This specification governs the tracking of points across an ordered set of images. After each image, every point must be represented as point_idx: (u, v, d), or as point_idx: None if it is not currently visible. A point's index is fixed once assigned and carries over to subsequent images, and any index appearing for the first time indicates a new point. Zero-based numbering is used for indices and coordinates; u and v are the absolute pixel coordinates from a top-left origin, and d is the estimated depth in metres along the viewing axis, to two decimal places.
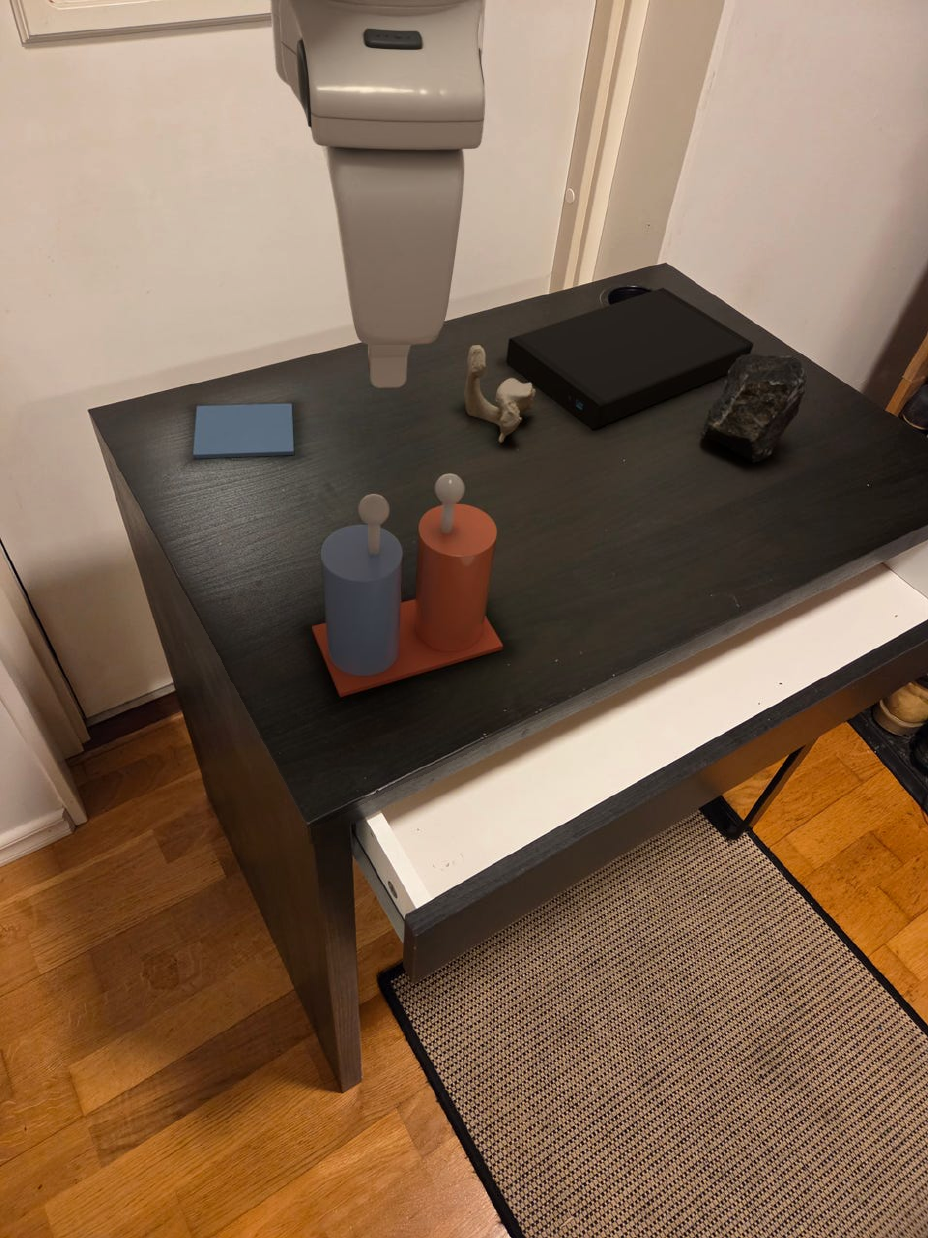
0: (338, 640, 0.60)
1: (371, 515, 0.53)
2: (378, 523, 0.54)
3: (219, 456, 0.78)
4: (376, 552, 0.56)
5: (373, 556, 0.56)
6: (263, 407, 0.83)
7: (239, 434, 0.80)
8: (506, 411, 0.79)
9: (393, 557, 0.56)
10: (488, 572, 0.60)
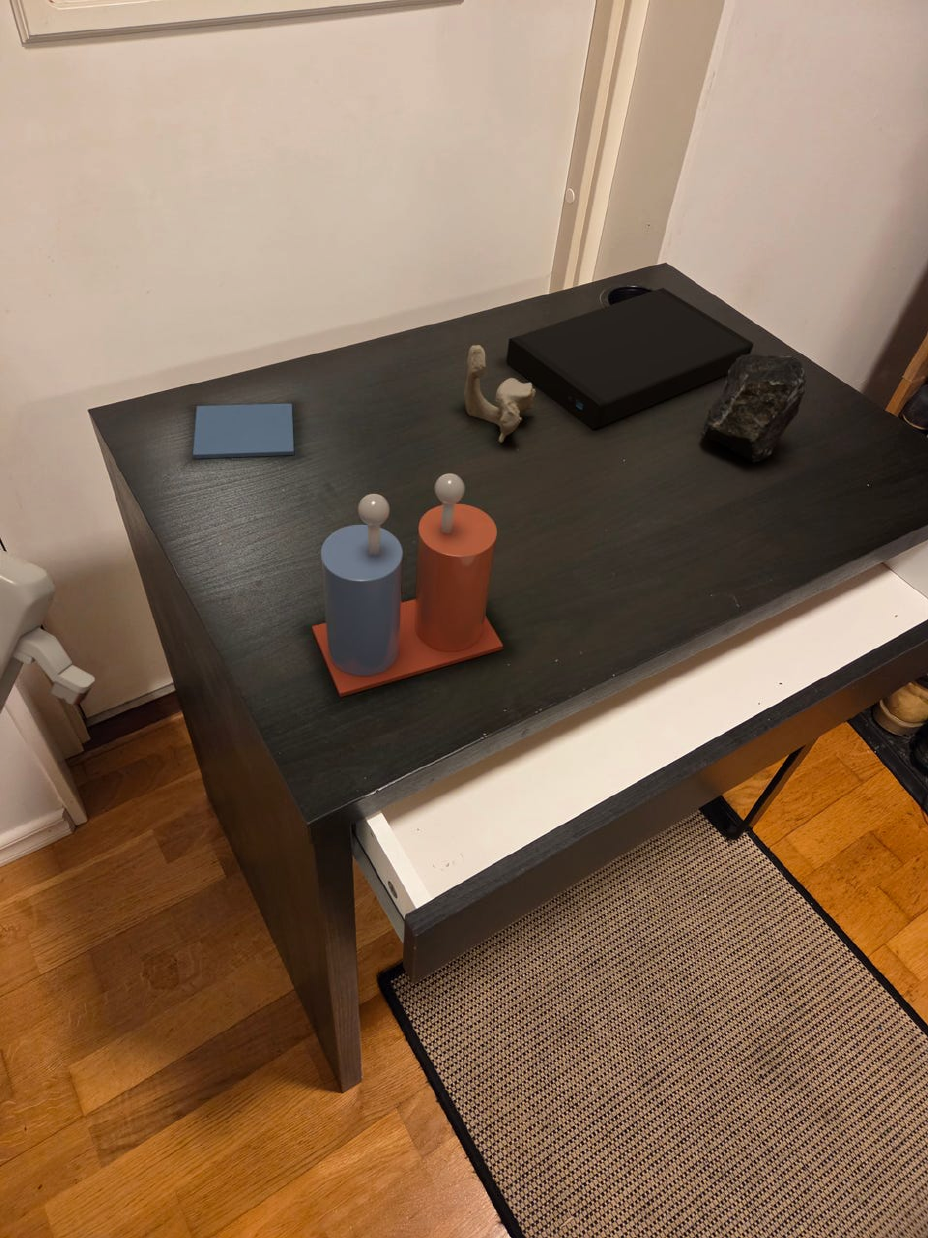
0: (338, 640, 0.60)
1: (371, 515, 0.53)
2: (378, 523, 0.54)
3: (219, 456, 0.78)
4: (376, 552, 0.56)
5: (373, 556, 0.56)
6: (263, 407, 0.83)
7: (239, 434, 0.80)
8: (506, 411, 0.79)
9: (393, 557, 0.56)
10: (488, 572, 0.60)
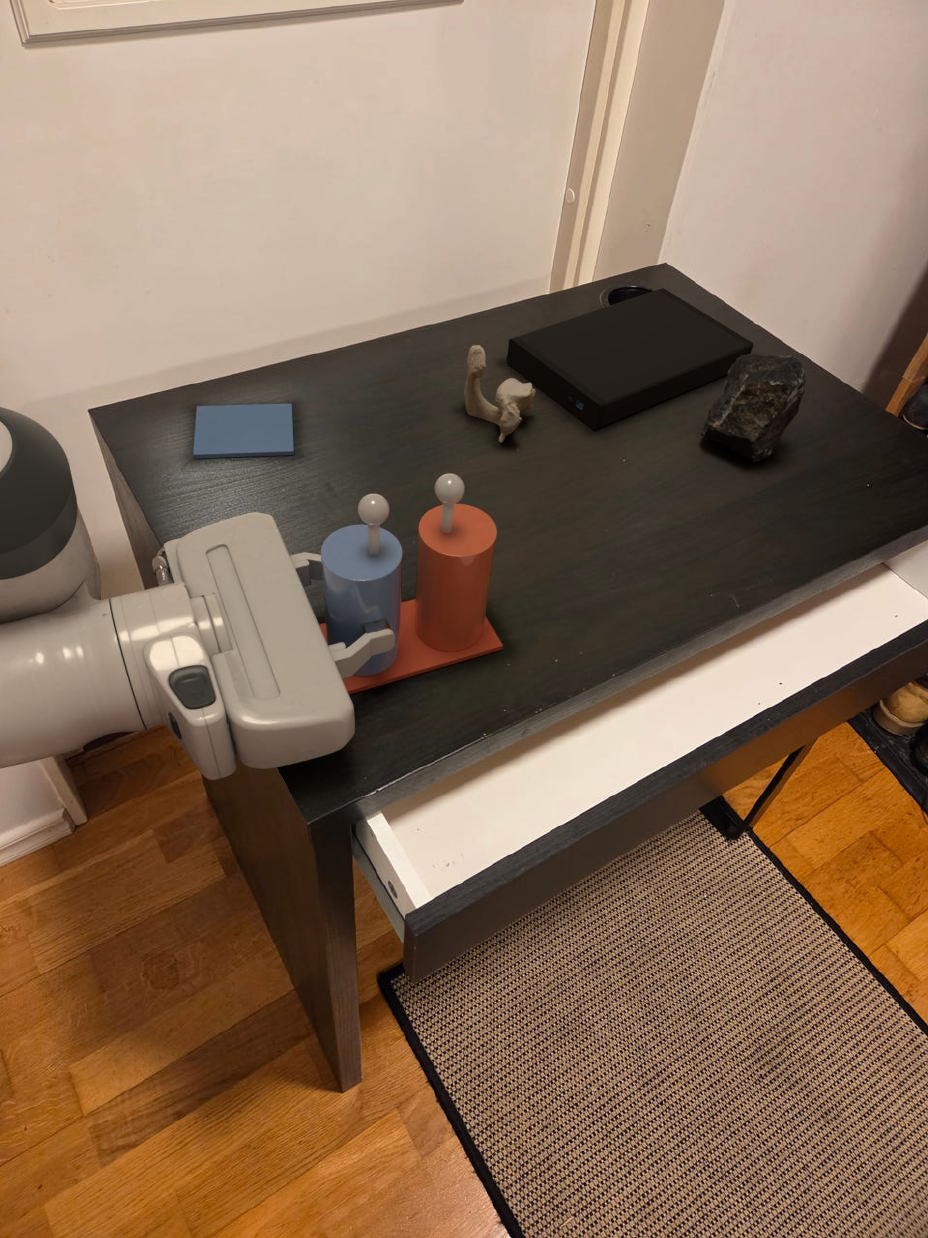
0: (337, 639, 0.60)
1: (371, 515, 0.53)
2: (378, 523, 0.54)
3: (219, 456, 0.78)
4: (376, 552, 0.56)
5: (373, 555, 0.56)
6: (263, 407, 0.83)
7: (239, 434, 0.80)
8: (506, 411, 0.79)
9: (393, 557, 0.56)
10: (488, 572, 0.60)
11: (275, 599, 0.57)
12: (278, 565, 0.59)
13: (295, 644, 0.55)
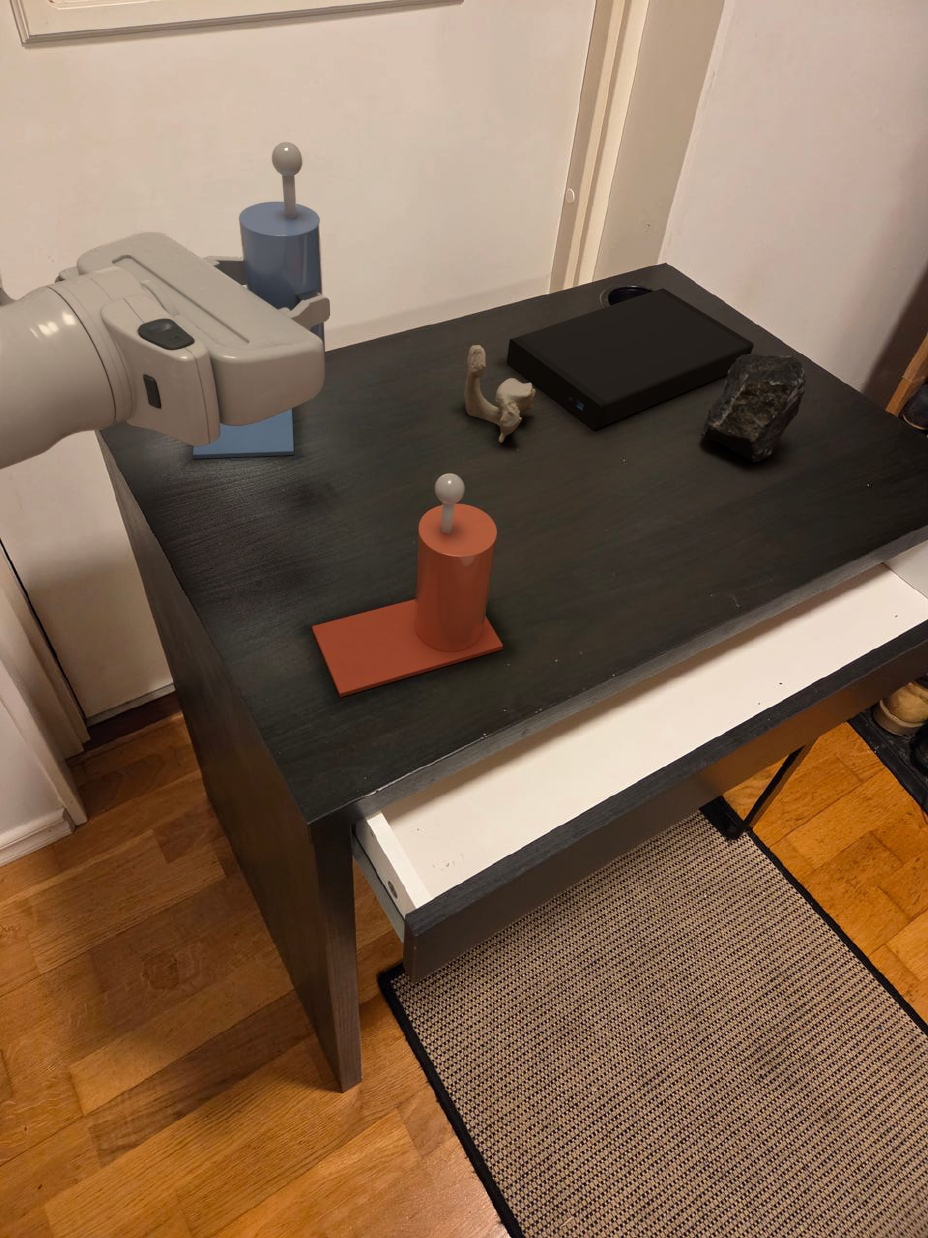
0: None
1: (289, 159, 0.54)
2: (296, 170, 0.55)
3: (219, 456, 0.78)
4: (294, 214, 0.58)
5: (292, 219, 0.58)
6: None
7: (239, 434, 0.80)
8: (506, 411, 0.79)
9: (311, 218, 0.58)
10: (488, 572, 0.60)
11: (204, 283, 0.57)
12: (192, 261, 0.59)
13: (242, 308, 0.55)
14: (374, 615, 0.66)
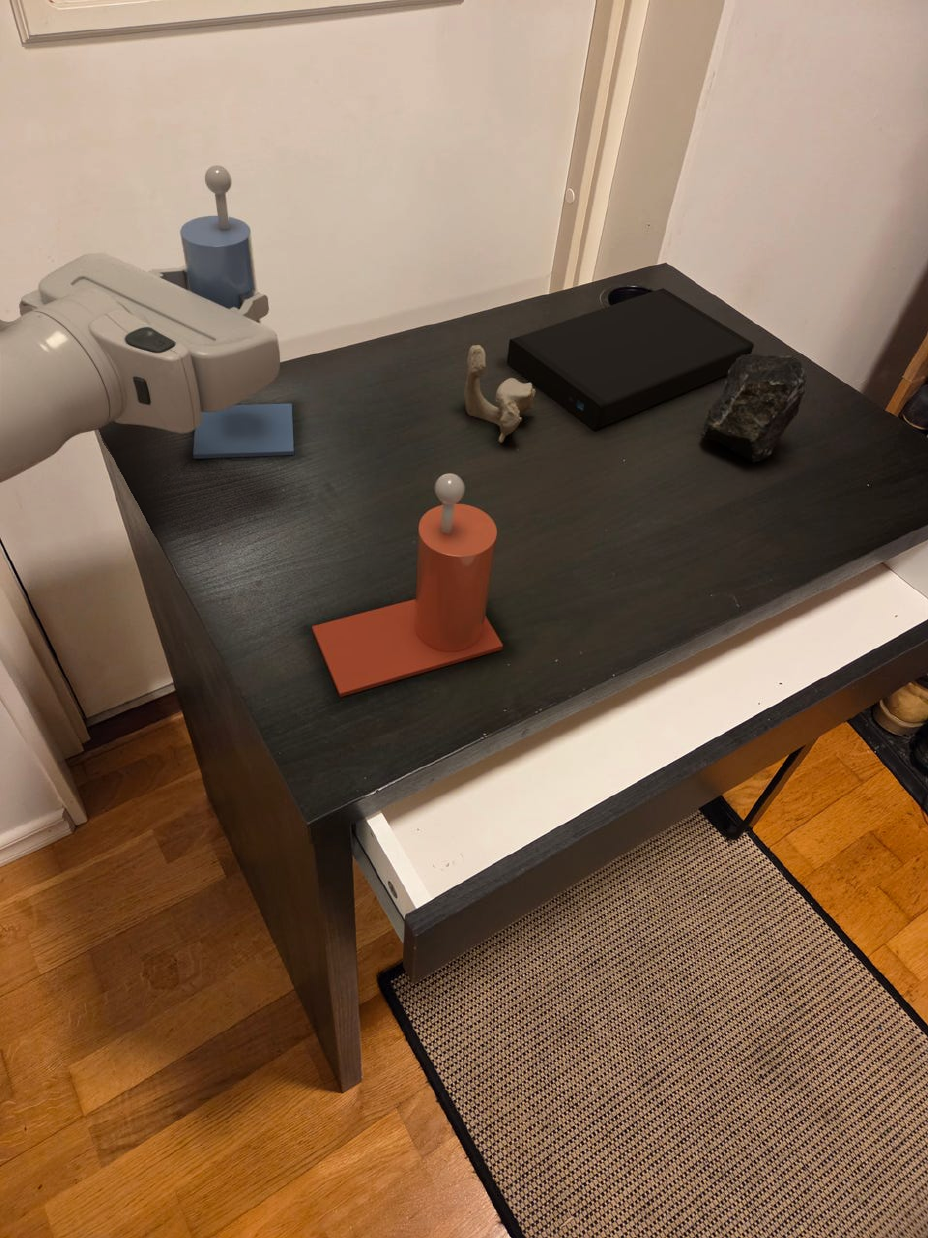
0: None
1: (221, 180, 0.64)
2: (227, 188, 0.65)
3: (219, 456, 0.78)
4: (228, 226, 0.67)
5: (227, 230, 0.67)
6: (263, 407, 0.83)
7: (239, 434, 0.80)
8: (506, 411, 0.79)
9: (243, 227, 0.67)
10: (488, 572, 0.60)
11: (159, 293, 0.66)
12: (142, 276, 0.67)
13: (200, 311, 0.65)
14: (374, 615, 0.66)
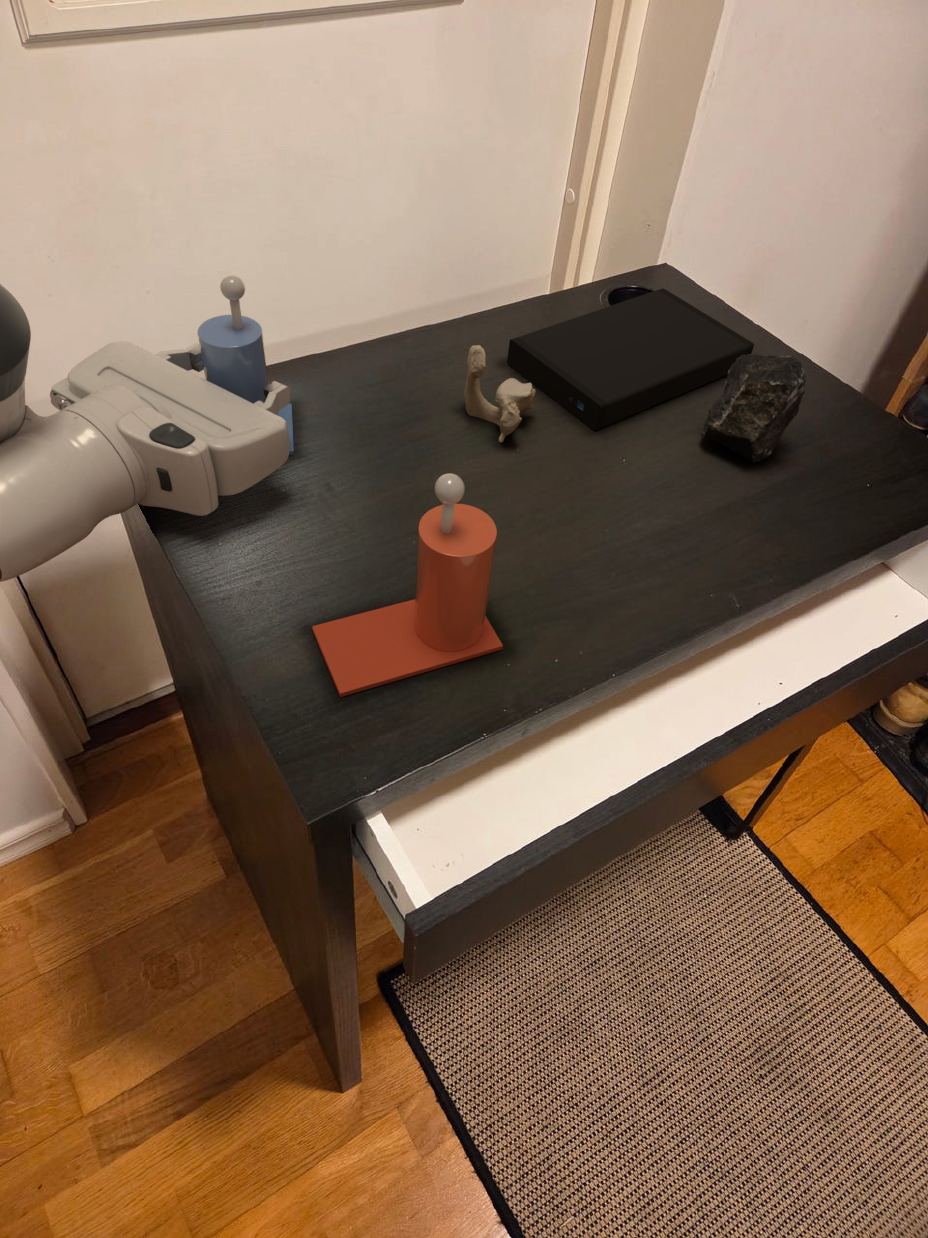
0: None
1: (235, 289, 0.70)
2: (241, 295, 0.71)
3: None
4: (241, 326, 0.73)
5: (240, 330, 0.73)
6: None
7: None
8: (506, 411, 0.79)
9: (255, 327, 0.74)
10: (488, 572, 0.60)
11: (178, 383, 0.72)
12: (162, 365, 0.73)
13: (216, 401, 0.70)
14: (374, 615, 0.66)
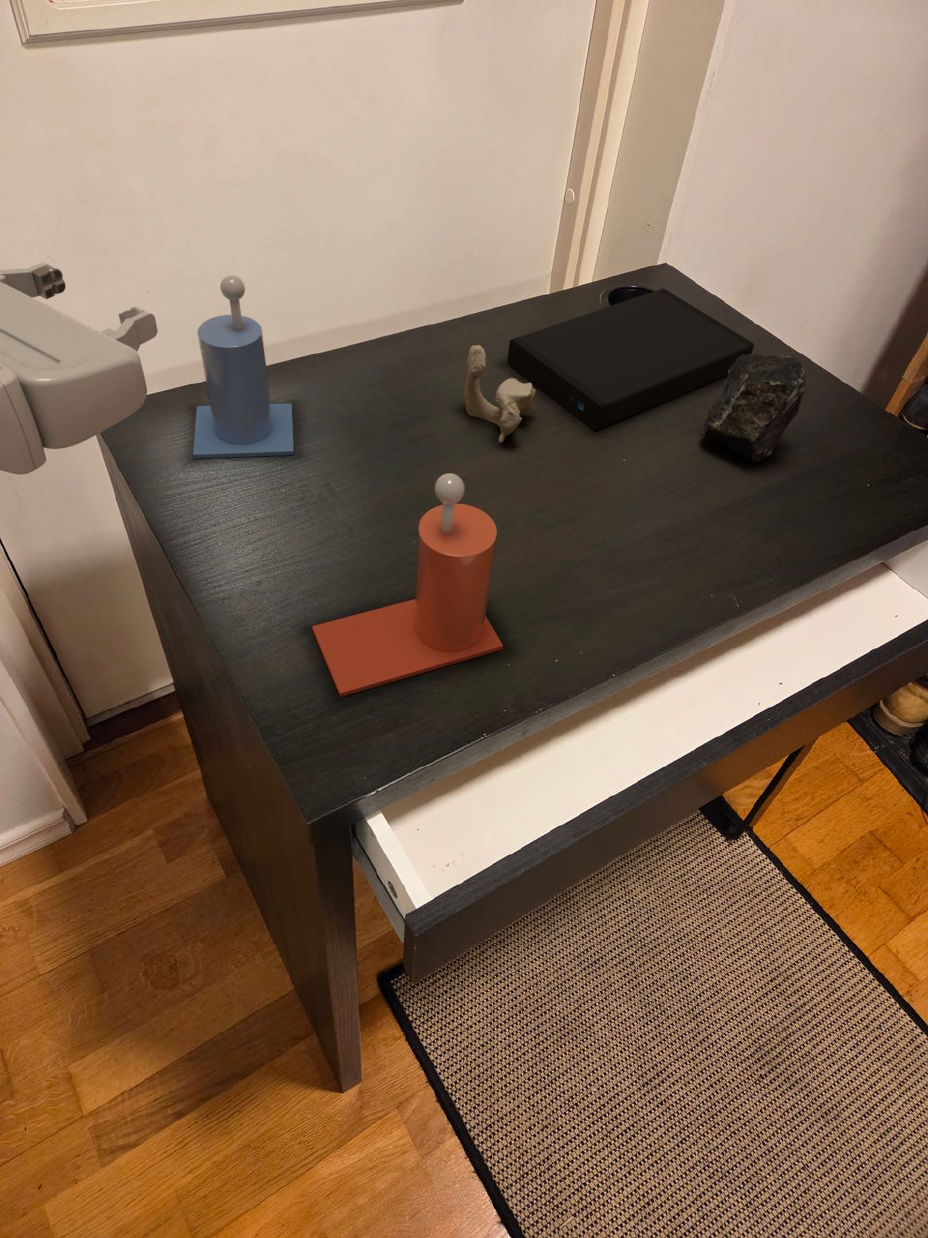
0: (232, 413, 0.76)
1: (235, 289, 0.70)
2: (241, 295, 0.71)
3: (219, 456, 0.78)
4: (241, 326, 0.73)
5: (240, 330, 0.73)
6: None
7: None
8: (506, 411, 0.79)
9: (255, 327, 0.74)
10: (488, 572, 0.60)
11: (3, 306, 0.55)
12: None
13: (48, 327, 0.54)
14: (374, 615, 0.66)
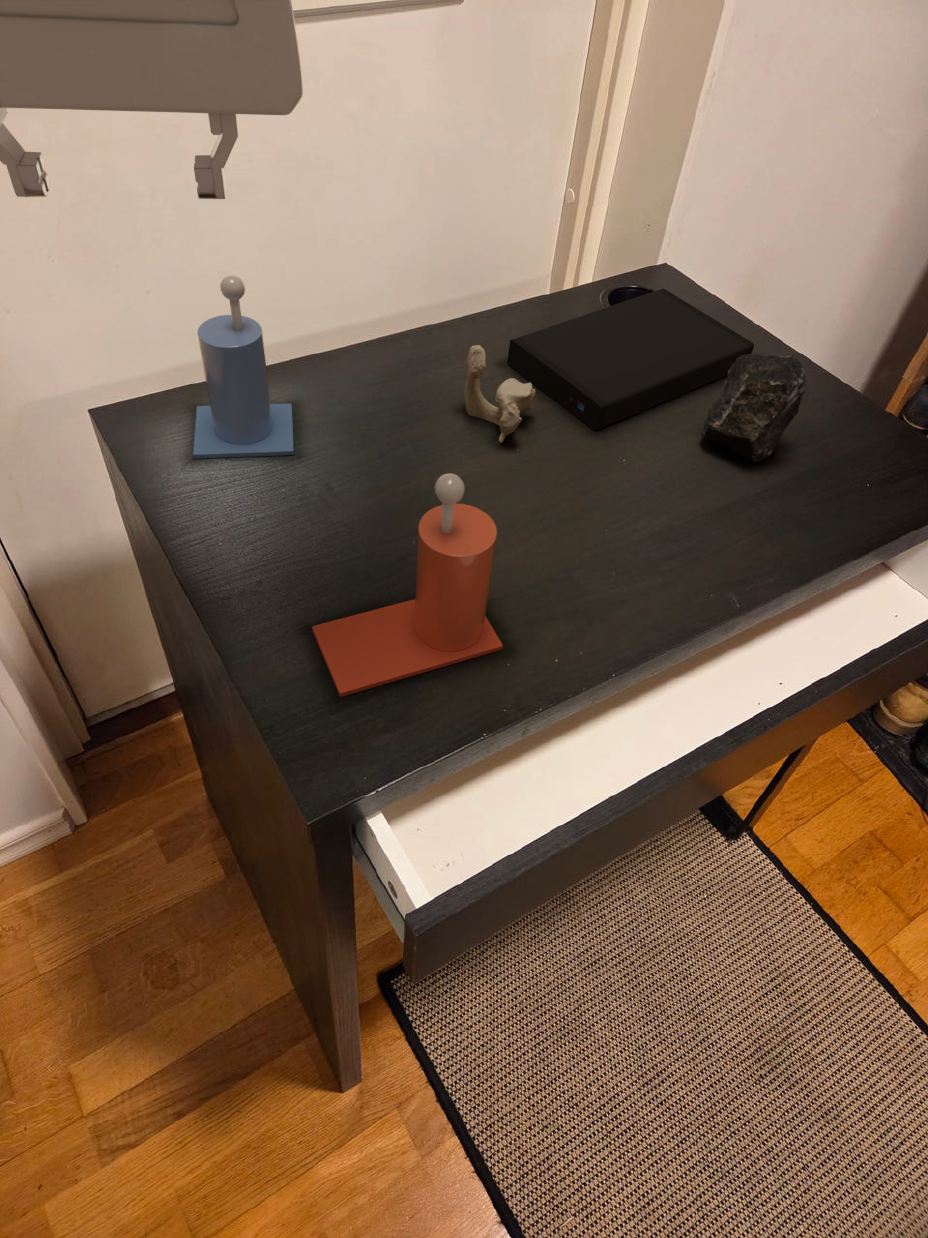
0: (232, 413, 0.76)
1: (235, 289, 0.70)
2: (241, 295, 0.71)
3: (219, 456, 0.78)
4: (241, 326, 0.73)
5: (240, 330, 0.73)
6: None
7: None
8: (506, 411, 0.79)
9: (255, 327, 0.74)
10: (488, 572, 0.60)
11: (105, 63, 0.41)
12: (173, 90, 0.42)
13: (12, 64, 0.41)
14: (374, 615, 0.66)
